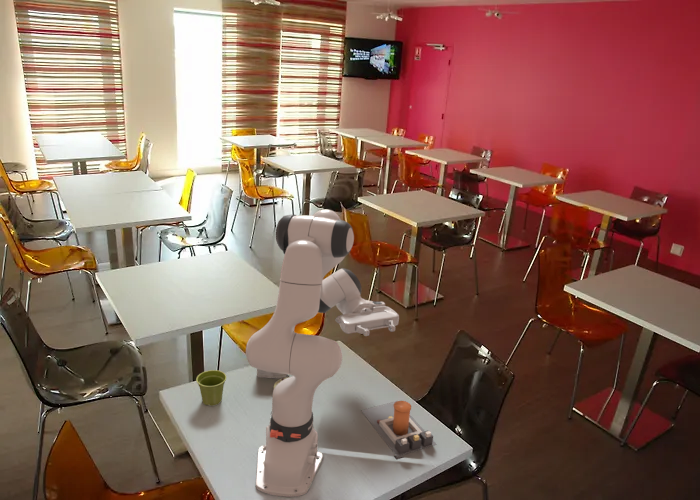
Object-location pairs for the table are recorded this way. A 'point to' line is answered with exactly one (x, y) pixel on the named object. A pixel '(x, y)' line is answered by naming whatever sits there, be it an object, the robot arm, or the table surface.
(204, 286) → the table surface
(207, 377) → the plant pot
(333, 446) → the table surface
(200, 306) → the table surface
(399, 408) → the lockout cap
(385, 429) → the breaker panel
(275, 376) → the light bulb box
